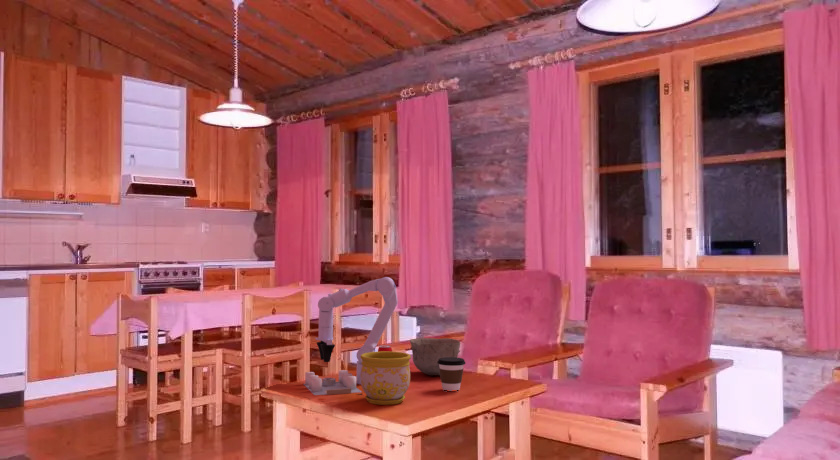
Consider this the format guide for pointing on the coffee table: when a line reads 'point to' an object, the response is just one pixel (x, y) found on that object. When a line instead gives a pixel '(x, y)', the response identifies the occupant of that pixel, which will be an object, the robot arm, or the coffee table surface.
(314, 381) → the spacer board
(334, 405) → the coffee table surface
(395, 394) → the flowerpot
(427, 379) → the coffee table surface
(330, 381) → the hexagonal block with ball
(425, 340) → the bowl
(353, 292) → the robot arm
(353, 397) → the coffee table surface
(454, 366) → the coffee cup
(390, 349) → the beverage can
